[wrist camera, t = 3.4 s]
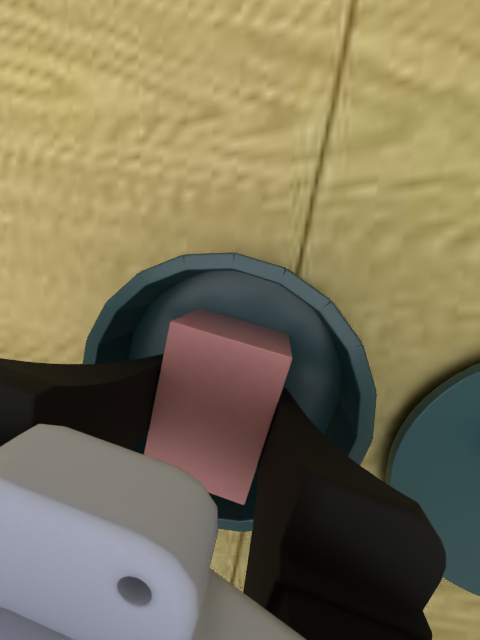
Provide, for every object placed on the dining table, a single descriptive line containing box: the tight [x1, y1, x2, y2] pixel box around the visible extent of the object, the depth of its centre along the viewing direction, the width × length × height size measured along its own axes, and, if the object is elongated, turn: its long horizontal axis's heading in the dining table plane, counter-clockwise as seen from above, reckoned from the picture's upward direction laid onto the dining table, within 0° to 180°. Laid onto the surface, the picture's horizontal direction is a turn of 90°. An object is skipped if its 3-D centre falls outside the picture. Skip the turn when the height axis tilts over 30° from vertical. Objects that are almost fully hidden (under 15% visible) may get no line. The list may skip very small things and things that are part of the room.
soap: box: [144, 308, 292, 505], centre depth 11 cm, size 4×6×3 cm
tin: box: [83, 253, 377, 532], centre depth 11 cm, size 12×12×3 cm
